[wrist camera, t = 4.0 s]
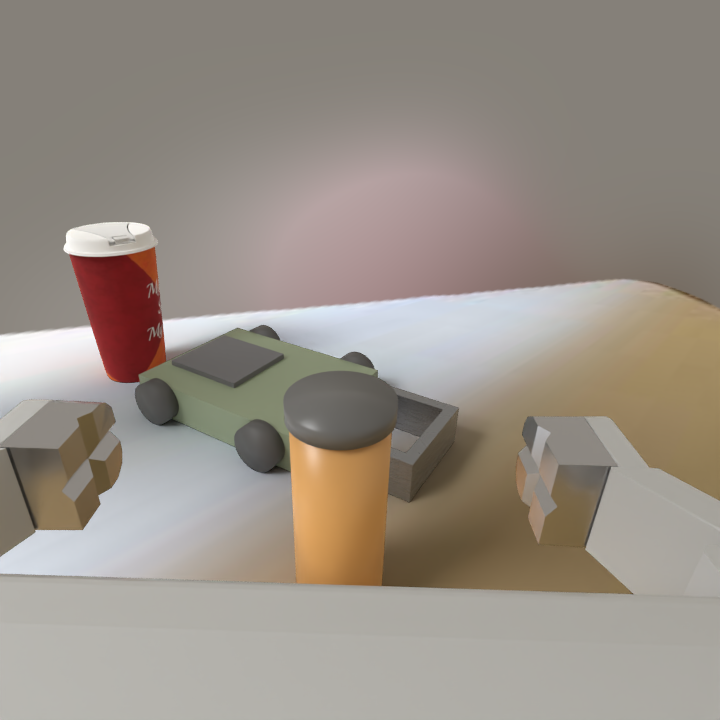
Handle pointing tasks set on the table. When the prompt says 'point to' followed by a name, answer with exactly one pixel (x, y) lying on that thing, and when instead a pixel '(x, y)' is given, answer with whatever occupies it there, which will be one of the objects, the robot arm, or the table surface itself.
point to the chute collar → (420, 441)
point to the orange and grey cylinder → (340, 475)
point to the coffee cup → (120, 295)
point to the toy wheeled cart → (238, 390)
